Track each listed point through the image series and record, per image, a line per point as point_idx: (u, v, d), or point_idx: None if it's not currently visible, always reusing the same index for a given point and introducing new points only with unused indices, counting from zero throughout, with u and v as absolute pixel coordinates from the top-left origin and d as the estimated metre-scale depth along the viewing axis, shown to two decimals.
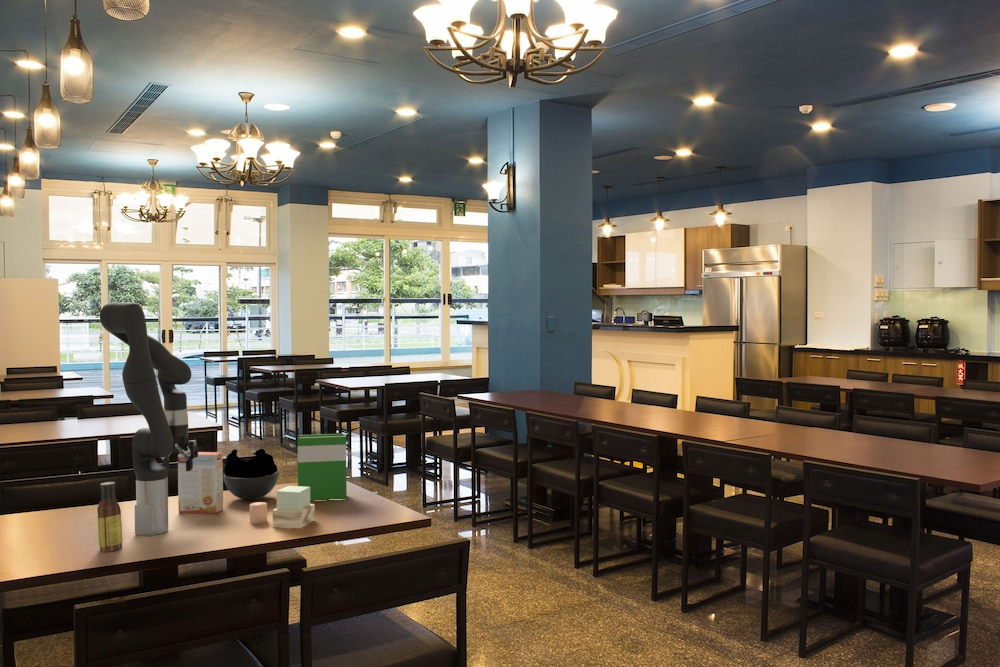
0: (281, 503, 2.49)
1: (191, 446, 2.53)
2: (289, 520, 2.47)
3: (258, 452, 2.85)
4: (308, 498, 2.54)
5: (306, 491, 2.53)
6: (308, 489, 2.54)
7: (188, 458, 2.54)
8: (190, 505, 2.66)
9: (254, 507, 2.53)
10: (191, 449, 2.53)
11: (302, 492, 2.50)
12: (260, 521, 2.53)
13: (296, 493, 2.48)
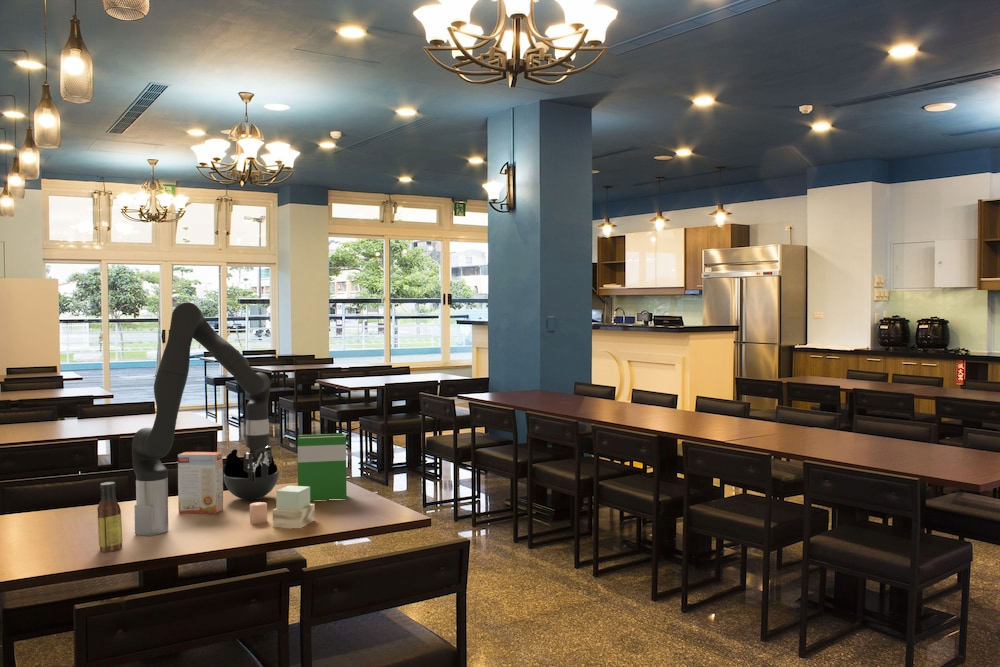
0: (281, 503, 2.49)
1: (270, 451, 2.61)
2: (289, 520, 2.48)
3: None
4: (308, 498, 2.54)
5: (306, 491, 2.53)
6: (308, 489, 2.54)
7: None
8: (190, 505, 2.66)
9: (254, 507, 2.53)
10: (270, 454, 2.61)
11: (302, 492, 2.50)
12: (260, 521, 2.53)
13: (296, 493, 2.48)
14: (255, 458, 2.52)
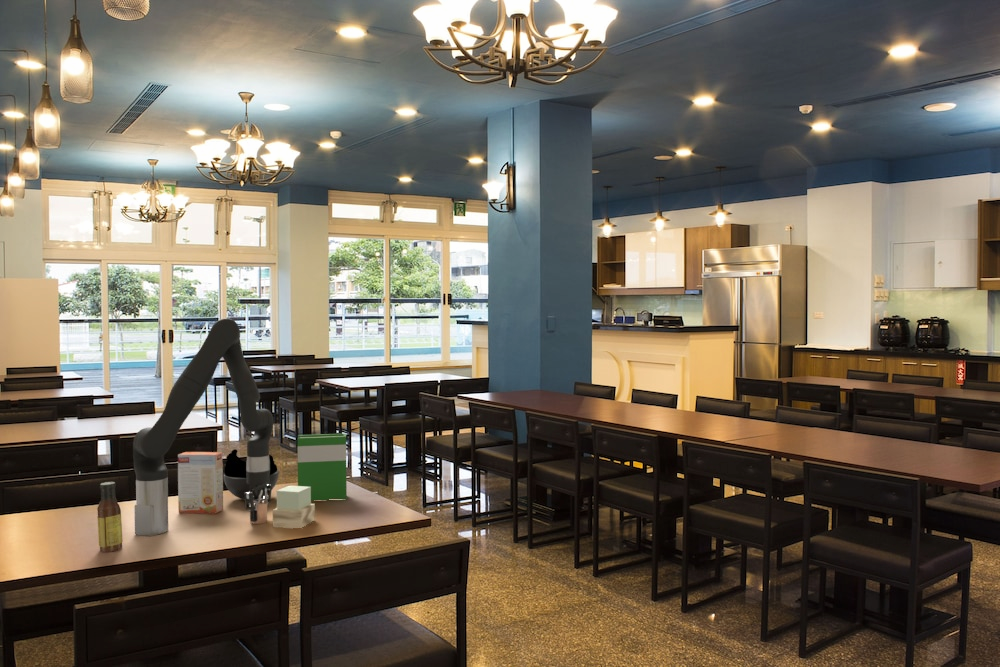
0: (281, 503, 2.49)
1: (270, 490, 2.61)
2: (289, 520, 2.48)
3: None
4: (308, 498, 2.54)
5: (306, 491, 2.53)
6: (308, 489, 2.54)
7: None
8: (190, 505, 2.66)
9: None
10: (270, 493, 2.60)
11: (302, 492, 2.50)
12: (260, 521, 2.53)
13: (295, 493, 2.48)
14: (256, 496, 2.52)
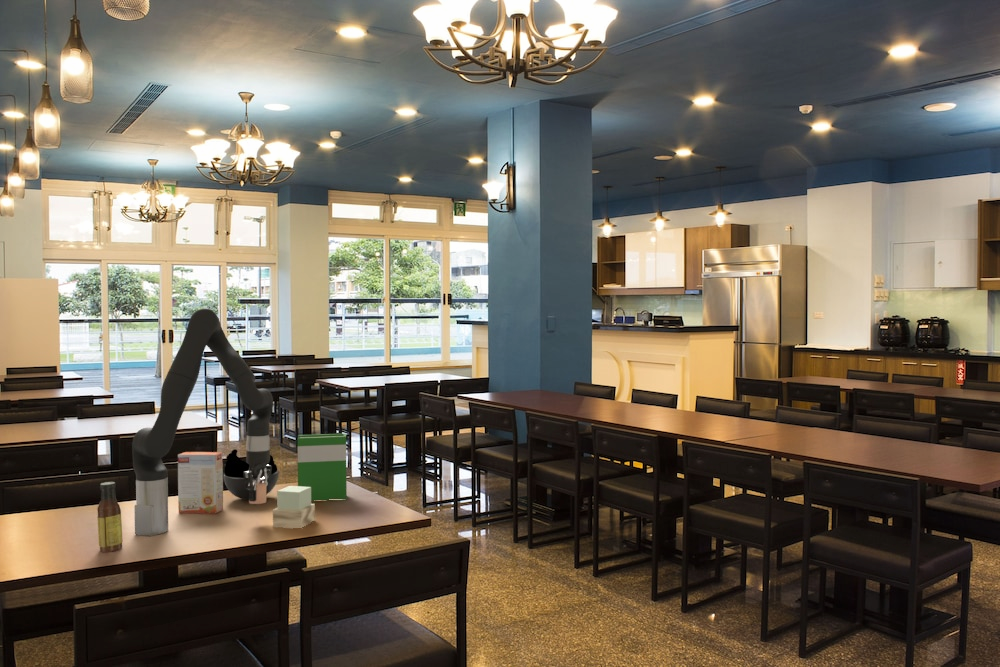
0: (282, 503, 2.49)
1: (270, 470, 2.60)
2: (289, 520, 2.48)
3: None
4: (309, 498, 2.54)
5: (307, 491, 2.53)
6: (309, 489, 2.54)
7: (267, 483, 2.58)
8: (190, 505, 2.66)
9: None
10: (270, 473, 2.59)
11: (302, 492, 2.50)
12: (259, 501, 2.52)
13: (296, 493, 2.48)
14: (255, 476, 2.51)
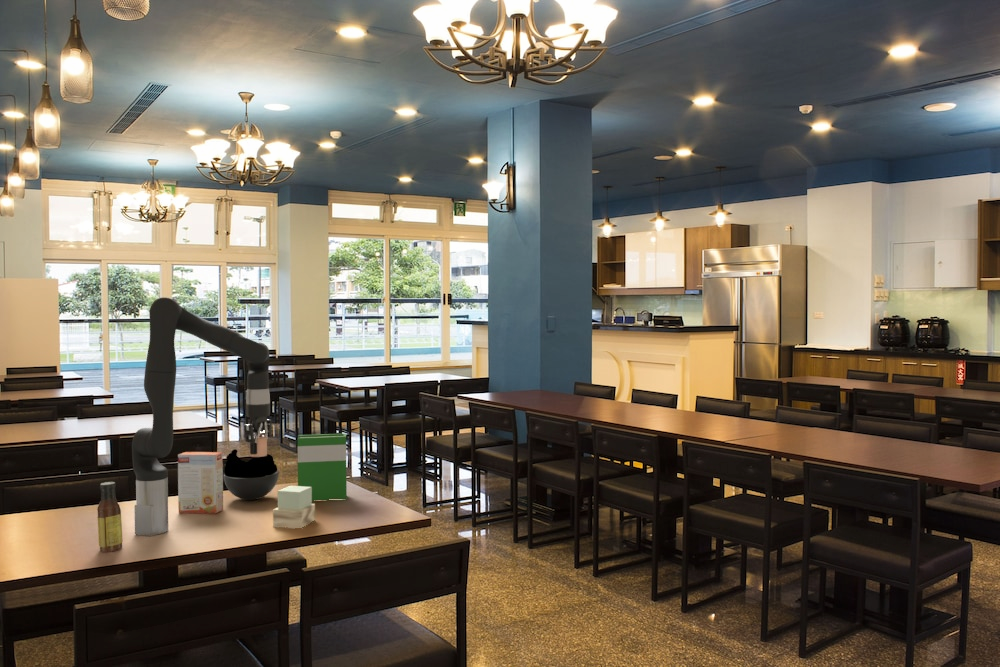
0: (282, 503, 2.49)
1: (270, 424, 2.60)
2: (289, 520, 2.48)
3: None
4: (309, 498, 2.54)
5: (307, 491, 2.53)
6: (309, 489, 2.54)
7: None
8: (190, 505, 2.66)
9: None
10: (270, 427, 2.60)
11: (303, 492, 2.50)
12: (260, 454, 2.52)
13: (297, 493, 2.48)
14: (256, 429, 2.52)
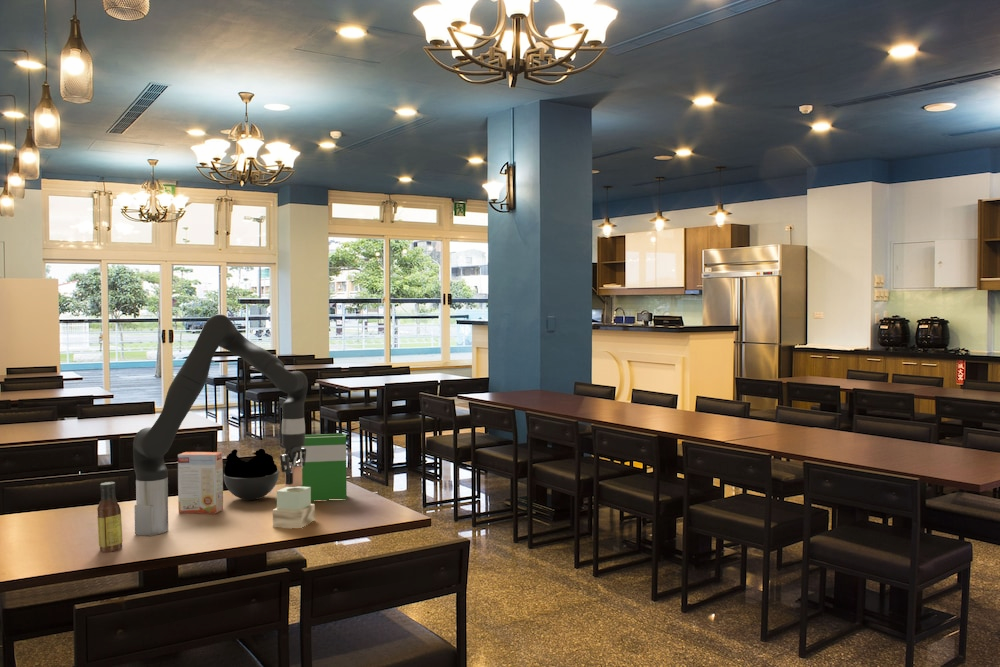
0: (282, 503, 2.49)
1: (305, 453, 2.58)
2: (289, 520, 2.48)
3: (258, 452, 2.85)
4: (308, 498, 2.54)
5: (306, 491, 2.52)
6: (308, 489, 2.54)
7: None
8: (190, 505, 2.66)
9: None
10: (304, 456, 2.57)
11: (302, 492, 2.50)
12: (296, 484, 2.50)
13: (296, 493, 2.47)
14: (291, 459, 2.49)
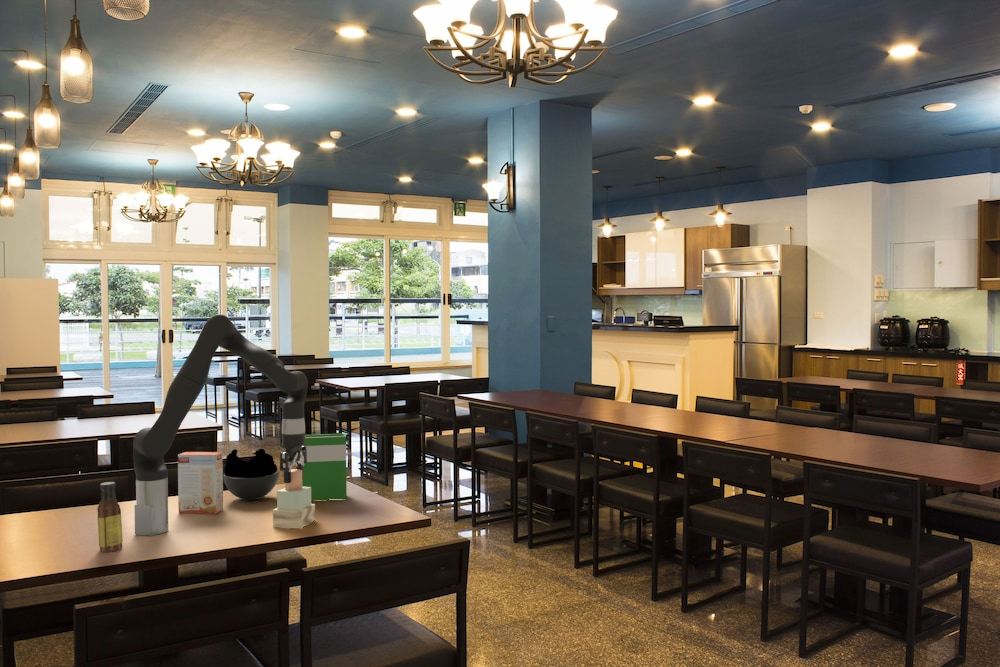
0: (282, 503, 2.49)
1: (305, 451, 2.58)
2: (289, 520, 2.47)
3: (258, 452, 2.85)
4: (309, 498, 2.54)
5: (307, 491, 2.52)
6: (309, 489, 2.54)
7: None
8: (190, 505, 2.66)
9: None
10: (305, 454, 2.58)
11: (302, 492, 2.49)
12: (295, 488, 2.50)
13: (296, 493, 2.47)
14: (291, 457, 2.49)
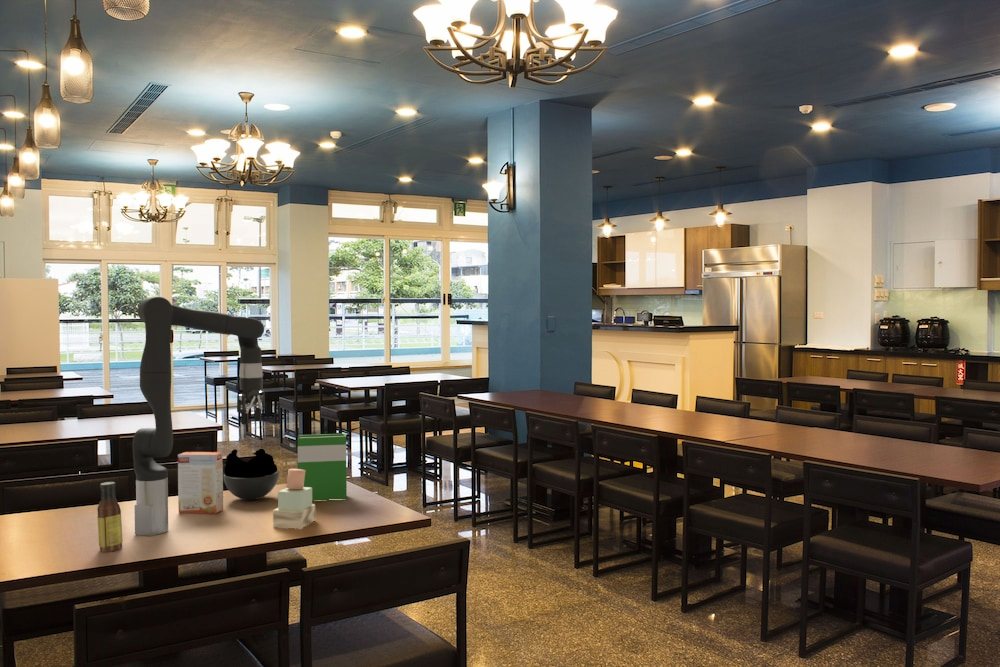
0: (283, 504, 2.48)
1: (263, 396, 2.70)
2: (289, 521, 2.47)
3: (258, 452, 2.85)
4: (310, 499, 2.53)
5: (308, 492, 2.52)
6: (310, 490, 2.53)
7: None
8: (190, 505, 2.66)
9: (293, 471, 2.50)
10: (263, 399, 2.70)
11: (303, 493, 2.49)
12: (297, 486, 2.50)
13: (297, 494, 2.47)
14: (248, 400, 2.60)
